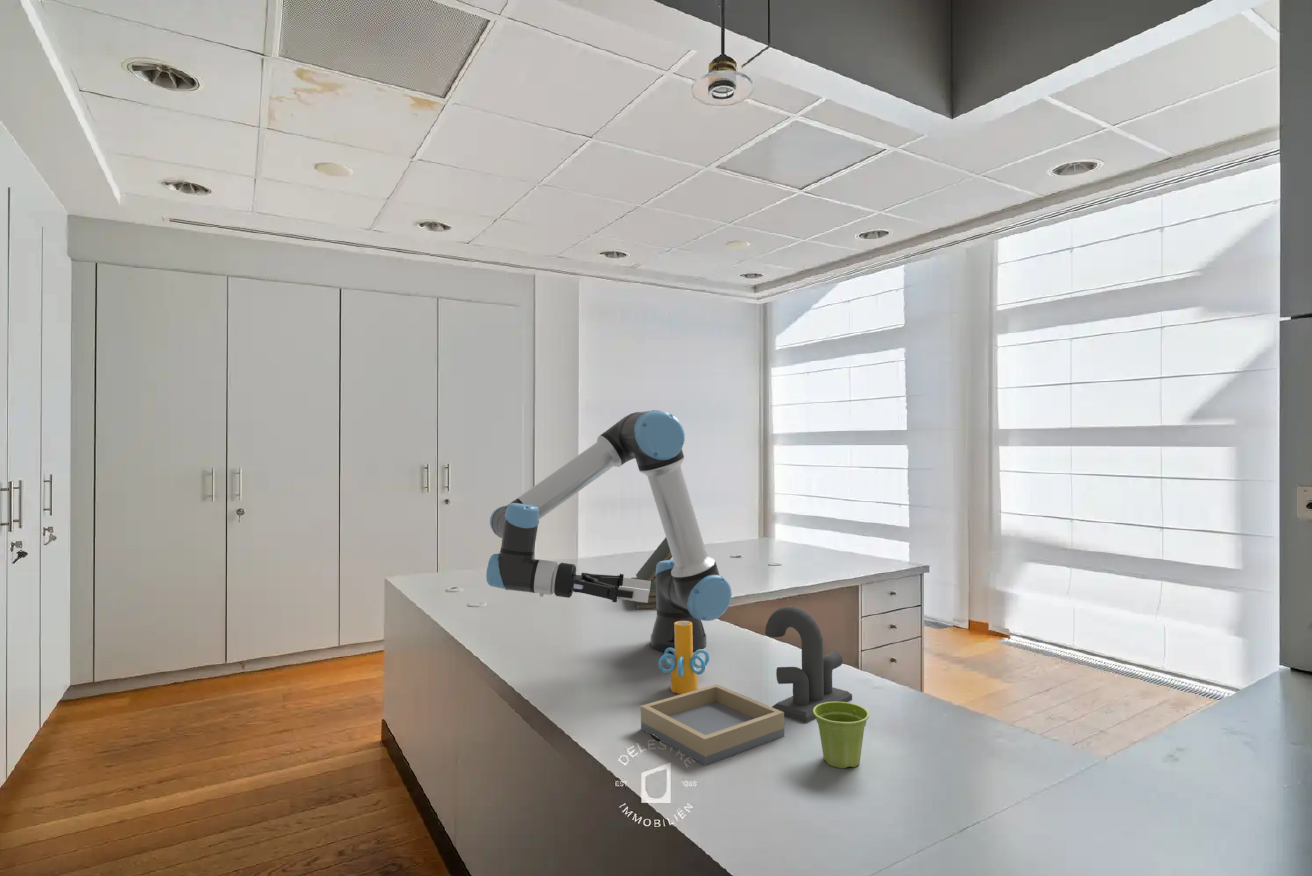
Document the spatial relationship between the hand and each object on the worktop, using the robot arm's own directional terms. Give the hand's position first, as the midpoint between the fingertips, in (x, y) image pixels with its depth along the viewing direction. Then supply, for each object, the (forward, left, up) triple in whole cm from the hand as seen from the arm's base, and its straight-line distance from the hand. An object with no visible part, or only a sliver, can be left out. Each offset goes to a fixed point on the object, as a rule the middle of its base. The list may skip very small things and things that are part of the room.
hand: (649, 591), depth 163 cm
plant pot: (-5, +50, -22) cm, 55 cm away
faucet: (-20, +26, -22) cm, 39 cm away
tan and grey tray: (+5, +27, -22) cm, 35 cm away
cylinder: (-5, +6, -22) cm, 23 cm away
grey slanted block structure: (-52, -66, -22) cm, 87 cm away
